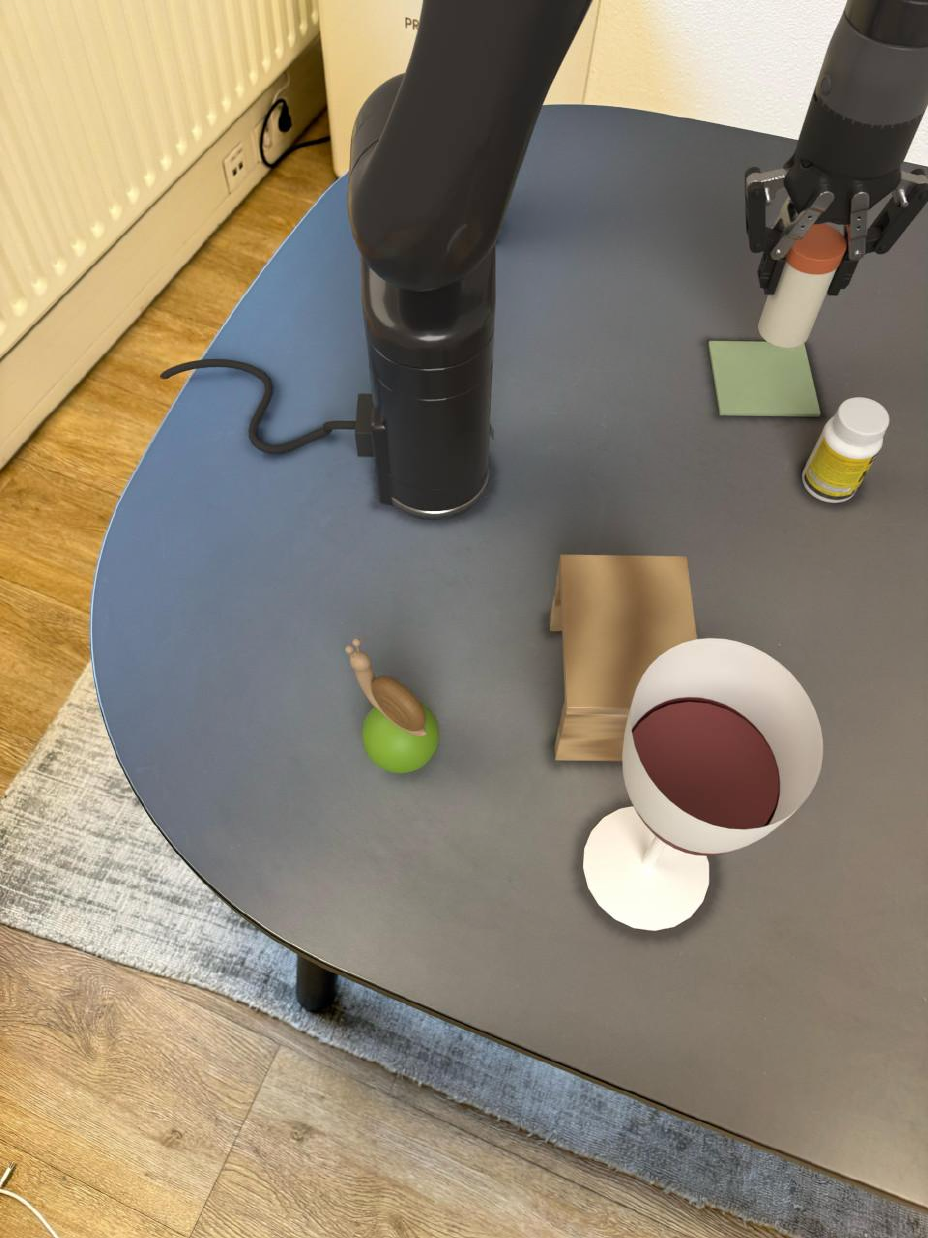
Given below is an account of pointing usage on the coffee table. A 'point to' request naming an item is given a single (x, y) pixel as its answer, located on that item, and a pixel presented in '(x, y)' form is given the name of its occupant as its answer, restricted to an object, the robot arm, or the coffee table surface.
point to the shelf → (613, 641)
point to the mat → (762, 379)
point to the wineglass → (700, 776)
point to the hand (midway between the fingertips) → (798, 287)
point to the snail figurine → (393, 720)
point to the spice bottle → (802, 287)
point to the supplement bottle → (845, 450)
